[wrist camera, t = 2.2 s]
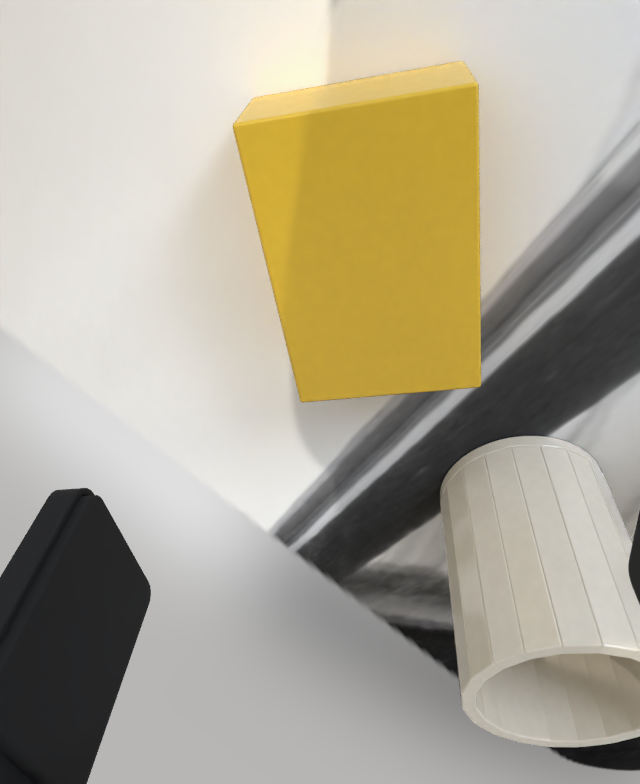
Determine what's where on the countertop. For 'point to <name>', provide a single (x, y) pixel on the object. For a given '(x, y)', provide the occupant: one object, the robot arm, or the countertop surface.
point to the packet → (372, 229)
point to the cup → (541, 595)
